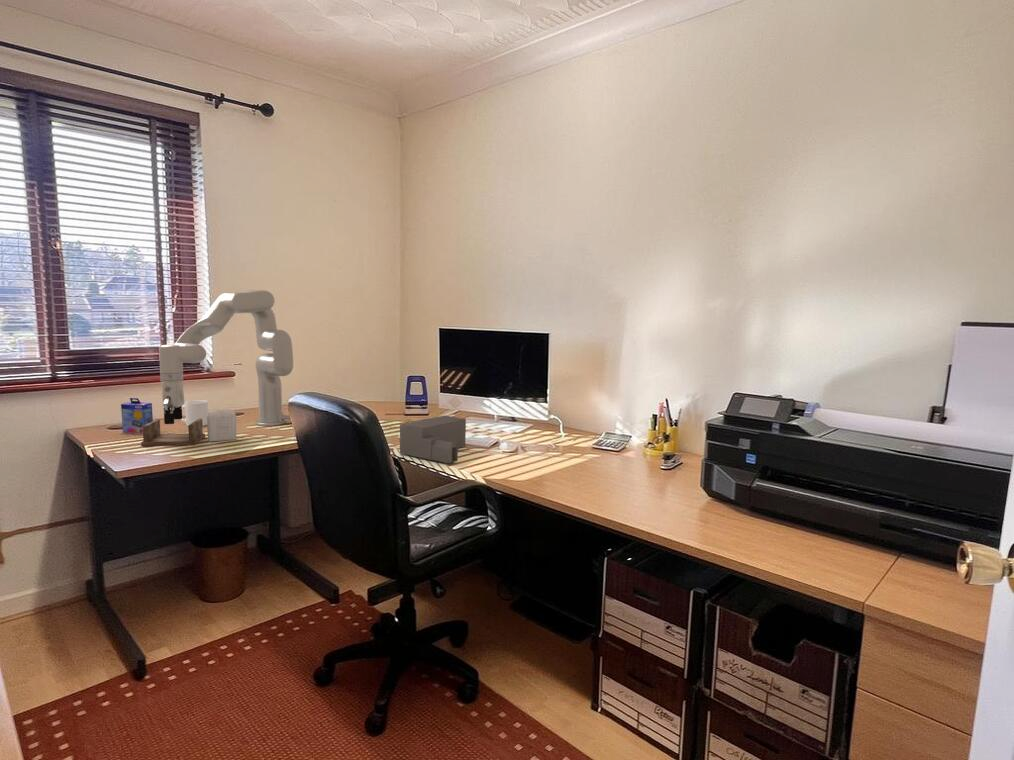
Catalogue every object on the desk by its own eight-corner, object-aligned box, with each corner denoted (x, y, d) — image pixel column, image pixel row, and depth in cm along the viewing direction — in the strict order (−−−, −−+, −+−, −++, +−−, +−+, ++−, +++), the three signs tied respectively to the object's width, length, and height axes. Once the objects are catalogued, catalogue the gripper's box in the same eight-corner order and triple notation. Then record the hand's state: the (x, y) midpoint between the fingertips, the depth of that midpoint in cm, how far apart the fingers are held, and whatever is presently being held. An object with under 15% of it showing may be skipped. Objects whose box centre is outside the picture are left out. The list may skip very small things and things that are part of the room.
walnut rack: (154, 438, 225) (154, 419, 224) (205, 436, 229) (204, 418, 228) (141, 446, 211) (140, 426, 210) (194, 444, 216) (194, 425, 215)
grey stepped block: (447, 463, 199) (448, 432, 198) (399, 453, 213) (399, 424, 211) (490, 450, 220) (490, 422, 219) (444, 441, 233) (444, 415, 232)
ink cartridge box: (121, 433, 232) (119, 398, 230) (131, 430, 237) (129, 396, 235) (145, 434, 231) (143, 398, 229) (154, 431, 237) (152, 396, 235)
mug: (183, 423, 254) (182, 399, 253) (211, 424, 255) (211, 400, 254) (174, 427, 245) (173, 402, 244) (203, 427, 246) (202, 403, 245)
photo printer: (235, 437, 229) (234, 407, 228) (237, 439, 226) (236, 409, 224) (206, 440, 223) (205, 409, 222) (208, 442, 220) (207, 411, 218)
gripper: (175, 379, 210) (177, 425, 212) (189, 374, 227) (191, 417, 229) (152, 379, 208) (154, 426, 210) (168, 374, 225) (170, 417, 227)
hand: (173, 421), depth 219 cm, fingers open, 9 cm apart
